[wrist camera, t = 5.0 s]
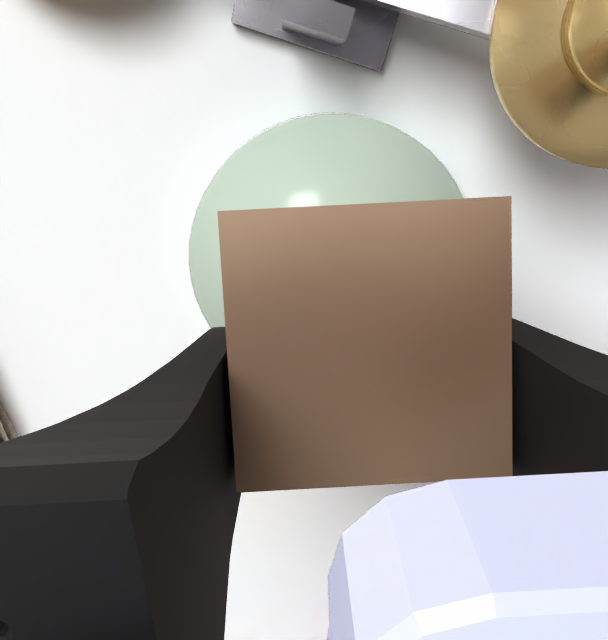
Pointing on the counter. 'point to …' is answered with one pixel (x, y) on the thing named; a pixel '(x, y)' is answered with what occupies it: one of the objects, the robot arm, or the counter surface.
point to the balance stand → (324, 26)
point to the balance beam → (528, 71)
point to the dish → (310, 182)
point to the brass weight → (586, 43)
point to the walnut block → (369, 342)
